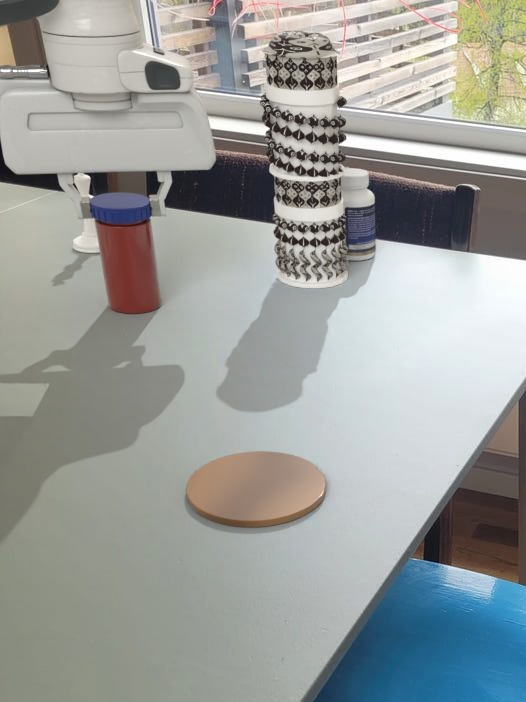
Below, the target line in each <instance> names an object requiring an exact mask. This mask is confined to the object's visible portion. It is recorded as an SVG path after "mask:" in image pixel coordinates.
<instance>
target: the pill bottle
mask: <svg viewBox="0 0 526 702" xmlns="http://www.w3.org/2000/svg"><path fill="white" fill-rule="evenodd" d="M369 175H370V173H369V171H367V170H366V169H362V168H355V167H354V168H353V167H352V168H350V167H349V168H348V167H347V168H344V175H342V176H341V197H342V198H343V213H344V214H345V216H346V218H347V221H346V222H345V225H344V226H343V227H344V228H345V230H346V231H347V235H346V238H345V239H344V240H343V241H344V242H345V243H346V246H347V247H348V251H347V252H346V253H347V255H346V258H347V260H348V261H354V262H355V261H356V262H359V261H361V262H362V261H366V260H369V259H372V258H373V257H375V255H376V252H377V251H376V250H377V245H376V244H377V242H376V241H377V240H376V197H375V193H374V192H373V191H371V190H370V189H368V187H369V186H370V176H369Z"/></svg>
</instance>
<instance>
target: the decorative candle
mask: <svg viewBox="0 0 526 702" xmlns="http://www.w3.org/2000/svg"><path fill="white" fill-rule="evenodd" d="M261 52H263V53H264V59H265V63H264V64H265V74H266V80H265V82H264V87H265V92H264V93H262V94H261V97H260V100H259V105H260V107H262V108H263V112H262V113H263V114H262V115H261V120H262V122H263V125H264V126H265V127H267V128H268V130H266V131H265V135H264V142H265V143H266V144H267V146H268V147H267V150H266V151H265V155H266V157H267V160H268V162H270V165H269V168H268V170H269V174H271V175H272V176H273V179H274V180H273V185H274V187H273V188H274V192H275V195H274V197H273V206H274V213H273V215H272V217H271V219H272V221H273V224H274V225H276V226H275V228H274V230H273V235H274V237H275V238H276V239H277V241H276V243H275V244H274V247H273V249H274V250H273V251H274V253H275V254H276V255H277V256H276V258H275V260H274V261H275V266H276V268H277V273H276V277H277V279H278V280H279V281H280V282H281V283H283V284H285V285H287V286H290V287H294V288H300V289H301V288H302V289H326V288H327V289H328V288H332V287H333V288H334V287H336V286H339V285H342V284H344V283H345V282H346V281H347V280H348V279H349V273H348V270H347V269H348V265H349V260H347V258H346V255H347V253H346V252H347V251H348V247H347V246H346V243H345V242H344V241H343V240H344V239H345V238H346V235H347V231H346V230H345V228H344V227H343V226H344V225H345V222H346V221H347V218H346V216H345V214H344V213H343V198H342V197H341V176H342V175H344V169H345V166H344V165H343V164H341V163H343V162H345V160H346V159H347V156H346V153H343V152H342V151H341V150H340V148H339V147H340V144H342V143H343V142H345V141H347V135H346V134H345V133H343V132H342V131H341V129H342V128H343V127H345V126H346V124H347V119H346V118H345V117H343V116H342V115H341V114H339V115H338V109H339V110H340V109H342V108H343V107H344V106H346V105H347V103H348V101H347V99H346V98H345V97H344V96H343V95H341V96H340V83H339V82H338V57H337V56H339V55H340V54H341V51H339V50H338V49H335V47H334V45H333V44H332V42H331V40H330V38H329V37H328V36H327V35H326V34H323V33H322V32H321V33H320V32H317V31H307V30H283V31H282V30H281V31H279V32H275V33H274V34H273V35H272V36H271V39H270V41H269V43H268V45H267V46H266V47H263V48H262V50H261ZM339 130H340V131H339Z"/></svg>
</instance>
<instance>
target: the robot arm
mask: <svg viewBox="0 0 526 702" xmlns="http://www.w3.org/2000/svg"><path fill="white" fill-rule="evenodd" d="M33 19H37V21H38V24H39V28H40V32H41V38H42V42H43V43H42V44H43V47H44V53H45V57H46V63H47V64H27V65H21V66H20V65H11V64H3V65H0V145H1V151H2V156H3V160H4V164H5V166H6V167H7V168H8V169H10V170H11V172H13V173H14V174H16V175H45V174H46V175H48V174H49V175H50V174H54V175H55V174H56V175H57V179H58V180H57V181H58V184H59V186H60V188H61V189H62V190H63V191H64V193H65V194H66V195H67V197H68V198H69V199H70V200H71V201H72V203H74V207H75V210H76V215H77V216H76V217H77V219H78V220H83V219H93V216H92V212H91V211H90V209H91V205H90V197H82V196H81V195H80V193H79V191H78V189H77V187H75V185H74V184H75V183H74V176H75V174H78V173H84V174H86V173H87V174H88V173H89V174H90V173H91V174H93V173H127V172H128V173H131V172H132V173H133V172H134V173H136V172H156V175H157V182H159V183H160V185H159V188H158V190H157V193H156V194H149V195H148V198H149V200H150V207H151V213H152V216H151V218H152V217H154V218H155V217H167V210H166V203H165V200H166V198H167V196H168V193H169V191H170V188H171V186H172V183H173V178H172V171H173V172H175V171H209V170H211V169H212V167H213V166H214V165H215V163H216V161H217V154H216V153H217V152H216V147H215V141H214V137H213V132H212V127H211V124H210V119H209V116H208V112H207V110H206V106H205V104H204V101H203V99H202V97H201V95H200V93H199V92H198V90H197V89H196V88H195V87H194V81H195V79H194V70H193V67H192V64H191V62H190V61H189V60H188V59H187V58H186V57H185V56H183V55H181V54H179V53H176V52H172V51H170V50H167V49H164V48H161V47H158V46H155V45H152V44H148V43H146V42H143V40H142V33H141V29H140V23H139V21H138V18H137V16H136V14H135V10H134V8H133V4H132V0H0V28H3V27H6V26H9V25H12V24H17V23H20V22H25V21H29V20H33Z"/></svg>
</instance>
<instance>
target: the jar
mask: <svg viewBox="0 0 526 702" xmlns="http://www.w3.org/2000/svg"><path fill="white" fill-rule="evenodd" d="M151 218H152V217H150V218H148V219H146V220H143V221H140V222H134V223H108V222H103V221H99V220H97V219H95V226H96V232H97V238H98V245H99V251H100V252H99V257H100V262H101V268H102V269H101V270H102V274H103V280H104V286H105V293H106V299H107V305H108V307H109V308H110V309H111V310H112V311H114V312H118V313H122V314H145V313H149V312H154V311H156V310H158V309H159V308H161V306H162V305H163V301H162V294H161V293H162V292H161V287H160V285H161V284H160V279H159V278H160V277H159V271H158V263H157V257H156V255H157V254H156V248H155V240H154V233H153V226H152V219H151Z"/></svg>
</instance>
